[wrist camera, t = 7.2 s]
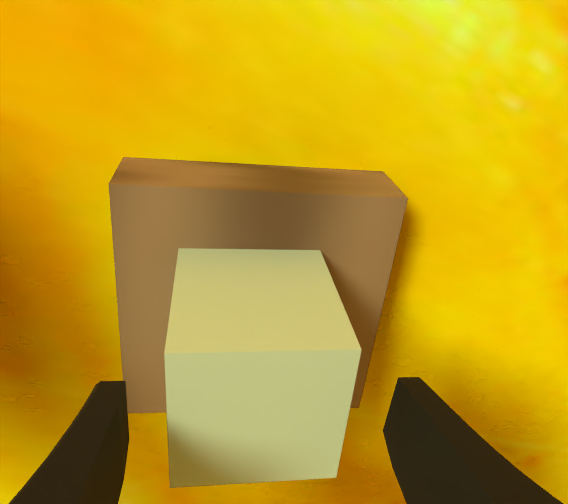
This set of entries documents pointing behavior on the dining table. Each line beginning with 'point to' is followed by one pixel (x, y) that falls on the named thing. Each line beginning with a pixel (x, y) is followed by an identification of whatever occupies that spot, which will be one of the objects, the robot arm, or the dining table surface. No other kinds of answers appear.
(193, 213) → the walnut pedestal
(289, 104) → the dining table surface
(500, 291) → the dining table surface
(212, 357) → the pale yellow block
